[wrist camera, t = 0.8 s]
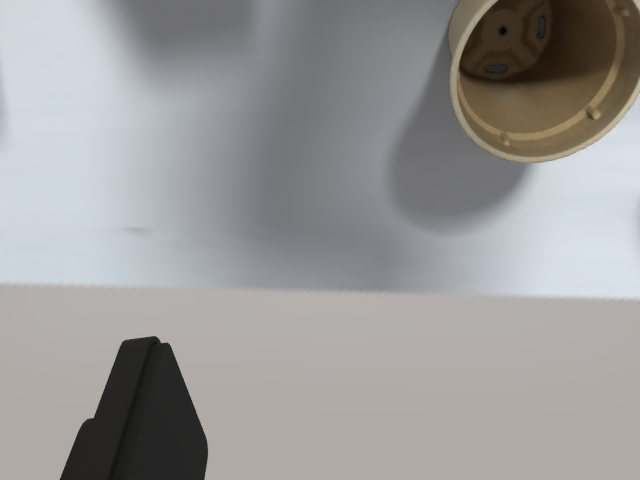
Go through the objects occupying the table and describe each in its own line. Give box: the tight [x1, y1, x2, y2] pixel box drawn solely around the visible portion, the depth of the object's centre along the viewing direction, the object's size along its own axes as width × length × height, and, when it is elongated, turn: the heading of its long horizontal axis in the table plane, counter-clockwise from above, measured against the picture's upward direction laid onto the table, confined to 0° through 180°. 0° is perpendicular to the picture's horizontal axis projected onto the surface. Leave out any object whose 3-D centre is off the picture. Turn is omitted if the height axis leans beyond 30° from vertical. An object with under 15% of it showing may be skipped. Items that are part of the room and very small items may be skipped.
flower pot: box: [449, 0, 640, 163], centre depth 32 cm, size 9×9×9 cm
